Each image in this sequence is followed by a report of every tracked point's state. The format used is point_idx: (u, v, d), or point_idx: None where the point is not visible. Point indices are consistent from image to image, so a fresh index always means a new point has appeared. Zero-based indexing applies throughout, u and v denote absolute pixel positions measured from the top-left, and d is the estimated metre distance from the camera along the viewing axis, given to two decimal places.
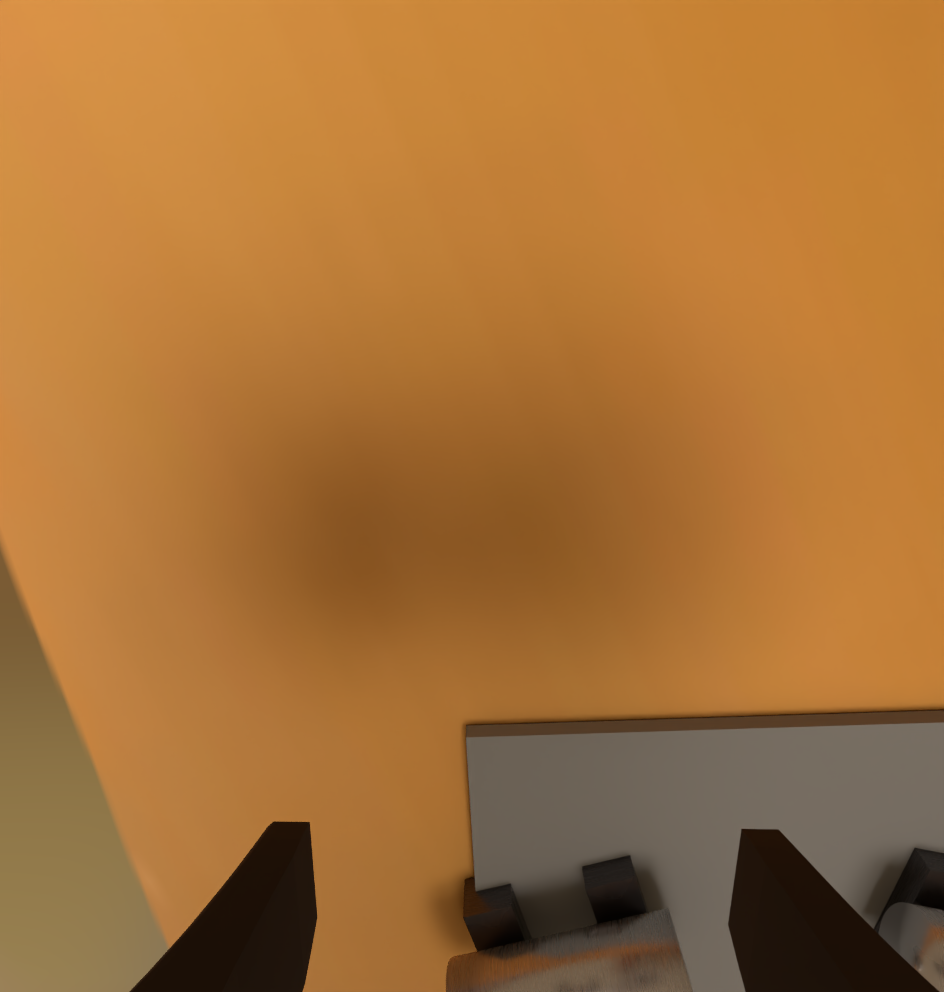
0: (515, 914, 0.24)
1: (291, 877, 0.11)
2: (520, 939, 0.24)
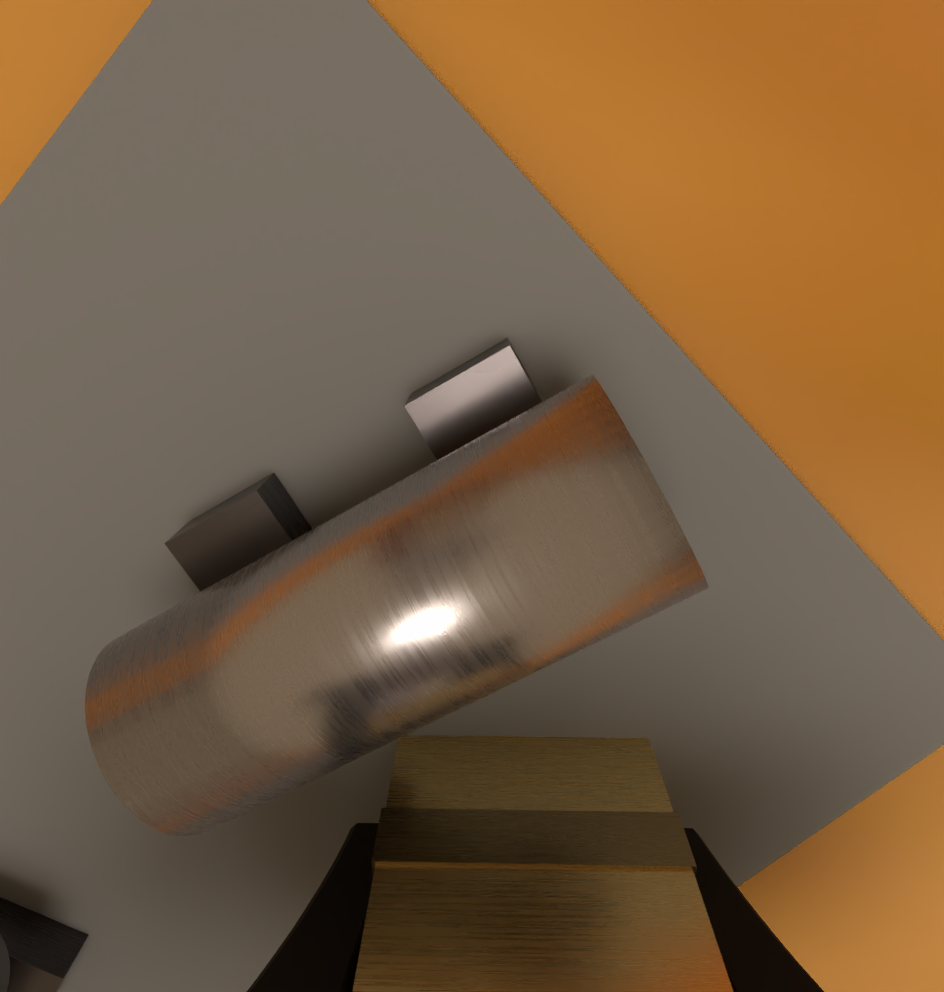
0: None
1: None
2: None
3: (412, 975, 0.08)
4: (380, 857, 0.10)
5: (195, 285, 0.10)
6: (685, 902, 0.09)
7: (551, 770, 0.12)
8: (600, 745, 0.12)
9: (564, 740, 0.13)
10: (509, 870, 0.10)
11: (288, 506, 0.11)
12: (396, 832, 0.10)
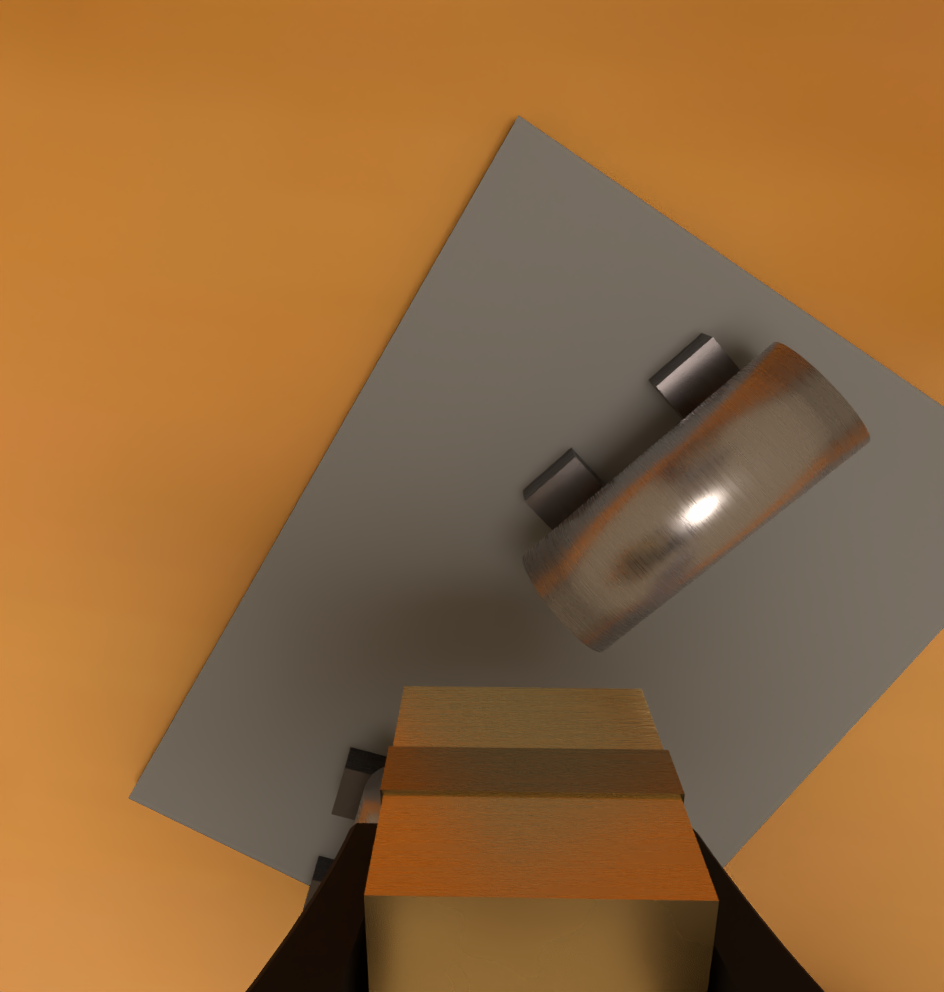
0: None
1: None
2: None
3: (420, 881, 0.09)
4: (388, 786, 0.11)
5: (512, 346, 0.18)
6: (673, 823, 0.10)
7: (549, 716, 0.12)
8: (595, 694, 0.13)
9: (561, 691, 0.13)
10: (509, 797, 0.10)
11: (586, 465, 0.18)
12: (403, 766, 0.11)
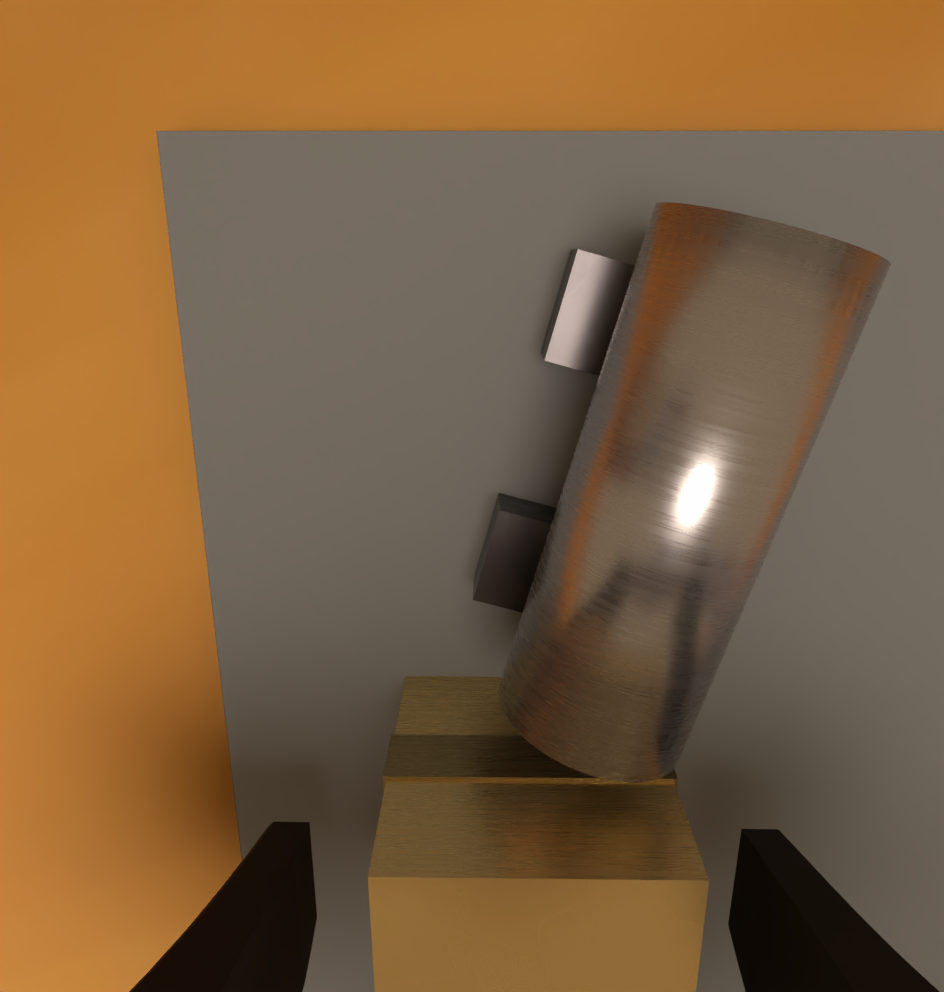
0: None
1: (290, 877, 0.11)
2: None
3: (421, 864, 0.09)
4: (391, 772, 0.11)
5: (344, 416, 0.12)
6: (666, 807, 0.10)
7: None
8: None
9: None
10: (507, 783, 0.11)
11: (528, 506, 0.12)
12: (405, 753, 0.11)
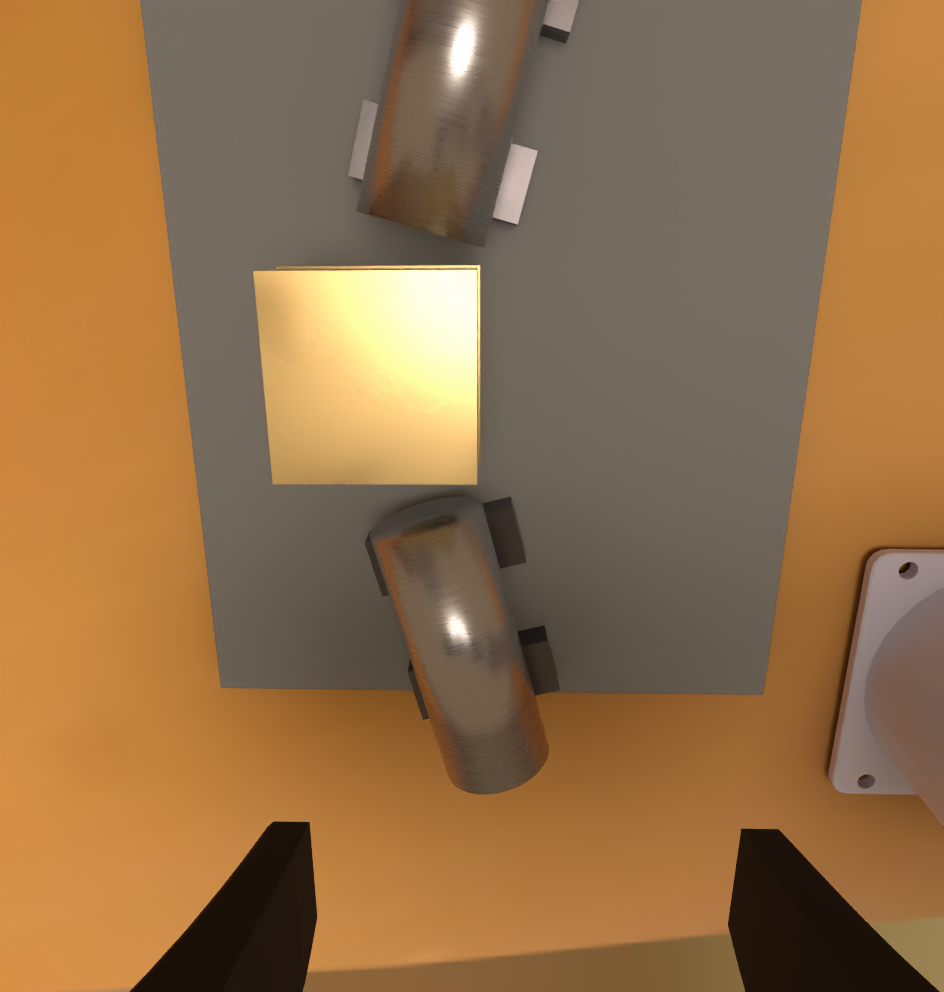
0: None
1: (291, 877, 0.11)
2: None
3: (289, 270, 0.14)
4: (282, 266, 0.16)
5: (255, 43, 0.17)
6: (466, 269, 0.15)
7: None
8: None
9: None
10: (361, 267, 0.16)
11: None
12: (294, 265, 0.16)
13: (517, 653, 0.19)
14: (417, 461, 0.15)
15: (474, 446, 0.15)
